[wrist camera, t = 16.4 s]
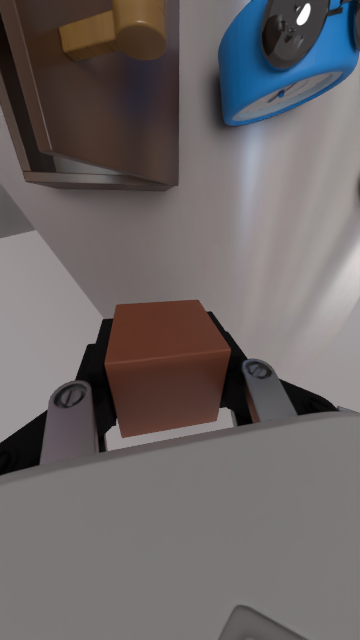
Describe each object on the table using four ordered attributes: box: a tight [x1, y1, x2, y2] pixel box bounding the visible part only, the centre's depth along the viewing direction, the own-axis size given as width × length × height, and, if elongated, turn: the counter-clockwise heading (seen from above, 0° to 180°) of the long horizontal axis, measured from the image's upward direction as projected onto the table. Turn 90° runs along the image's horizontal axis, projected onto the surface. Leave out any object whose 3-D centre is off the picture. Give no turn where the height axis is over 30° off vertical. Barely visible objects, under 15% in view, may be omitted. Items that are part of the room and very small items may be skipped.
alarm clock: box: [218, 0, 360, 126], centre depth 20 cm, size 13×6×15 cm, turn 104°
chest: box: [0, 12, 174, 191], centre depth 22 cm, size 16×13×9 cm
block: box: [104, 300, 231, 438], centre depth 9 cm, size 4×4×4 cm
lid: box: [0, 0, 179, 186], centre depth 11 cm, size 17×13×5 cm
